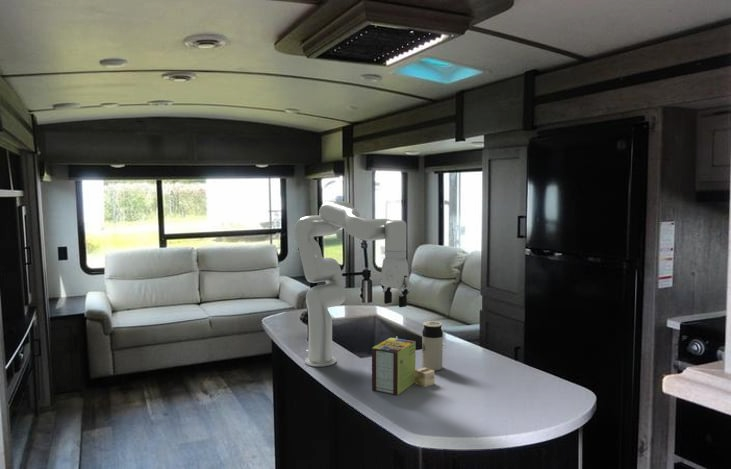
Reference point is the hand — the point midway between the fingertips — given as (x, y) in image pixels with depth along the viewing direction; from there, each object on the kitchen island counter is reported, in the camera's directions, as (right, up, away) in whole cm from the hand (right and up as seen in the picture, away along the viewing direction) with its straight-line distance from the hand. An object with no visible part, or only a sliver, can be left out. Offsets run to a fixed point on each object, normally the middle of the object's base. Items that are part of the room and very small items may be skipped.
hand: (395, 304), depth 195 cm
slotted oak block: (+11, -30, +5) cm, 32 cm away
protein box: (0, -30, +3) cm, 30 cm away
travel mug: (+16, -28, +23) cm, 39 cm away
